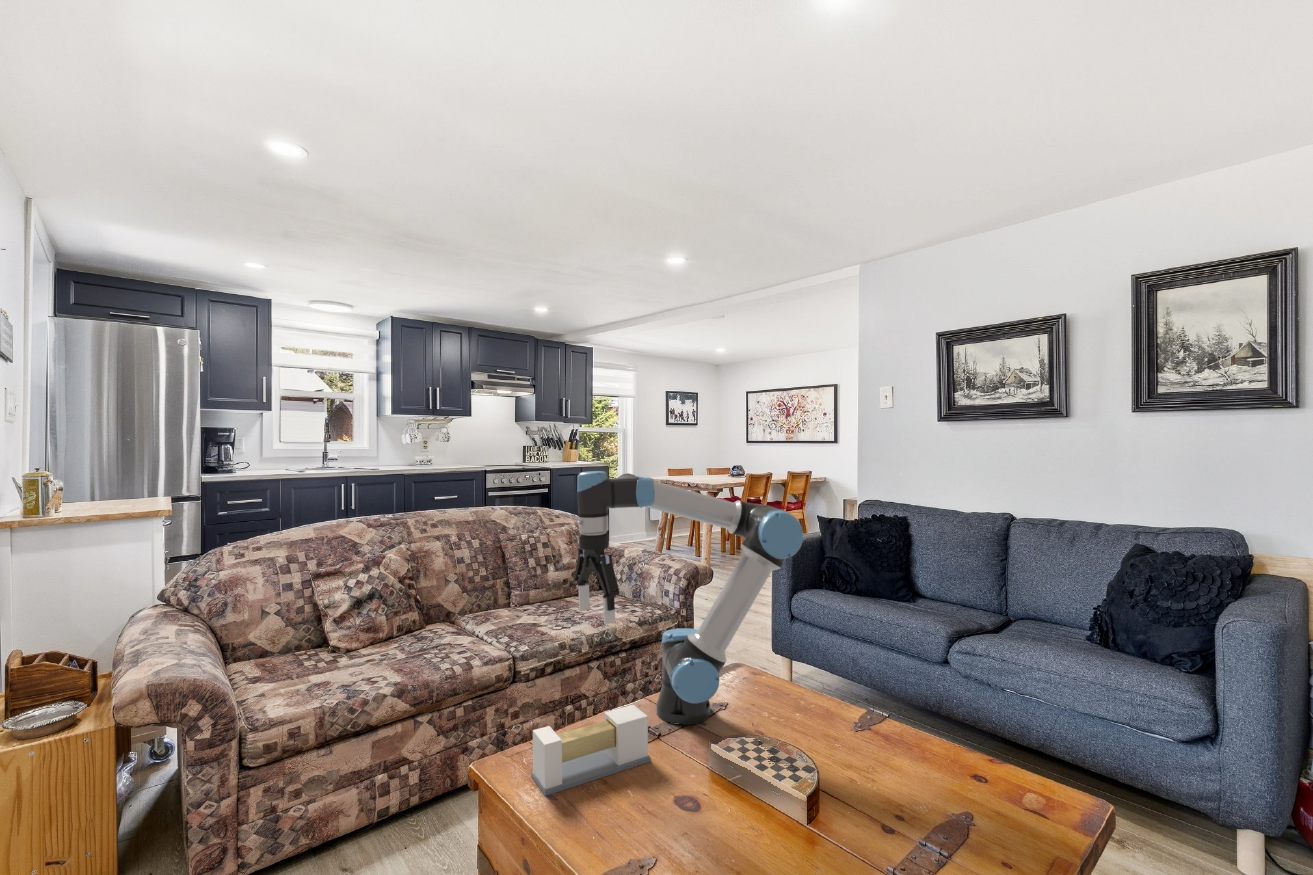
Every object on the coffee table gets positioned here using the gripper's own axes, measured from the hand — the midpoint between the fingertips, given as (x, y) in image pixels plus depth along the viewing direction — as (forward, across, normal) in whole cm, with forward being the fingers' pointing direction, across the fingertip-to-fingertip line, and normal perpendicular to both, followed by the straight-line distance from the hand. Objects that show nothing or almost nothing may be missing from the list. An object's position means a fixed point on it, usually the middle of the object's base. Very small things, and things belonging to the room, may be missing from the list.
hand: (596, 616), depth 155 cm
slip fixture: (+32, +10, -8) cm, 34 cm away
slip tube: (+27, +10, -10) cm, 31 cm away
